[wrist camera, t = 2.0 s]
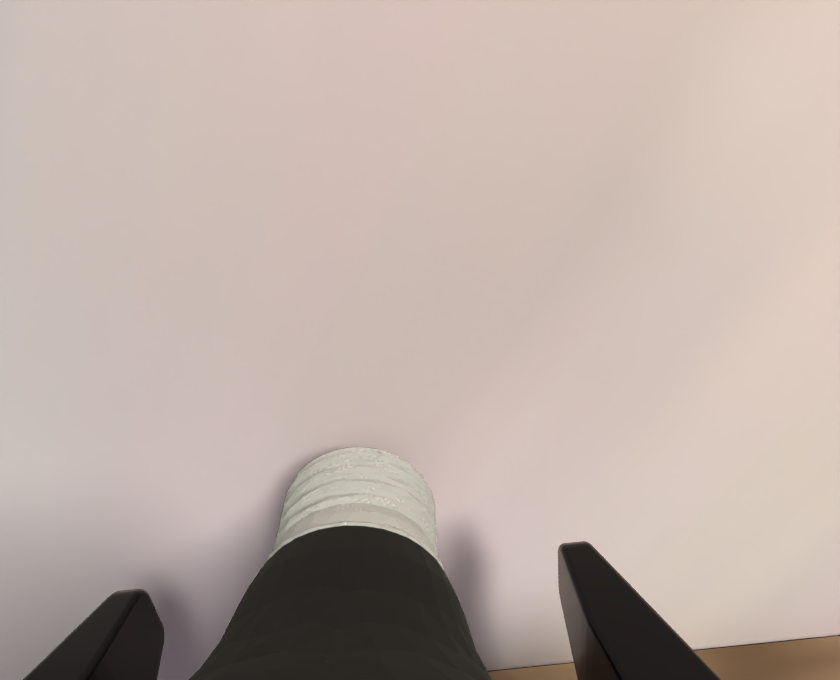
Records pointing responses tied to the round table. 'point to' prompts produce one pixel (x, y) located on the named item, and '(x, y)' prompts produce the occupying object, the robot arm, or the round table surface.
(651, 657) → the robot arm
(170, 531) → the round table surface
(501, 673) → the socket base
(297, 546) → the light bulb
